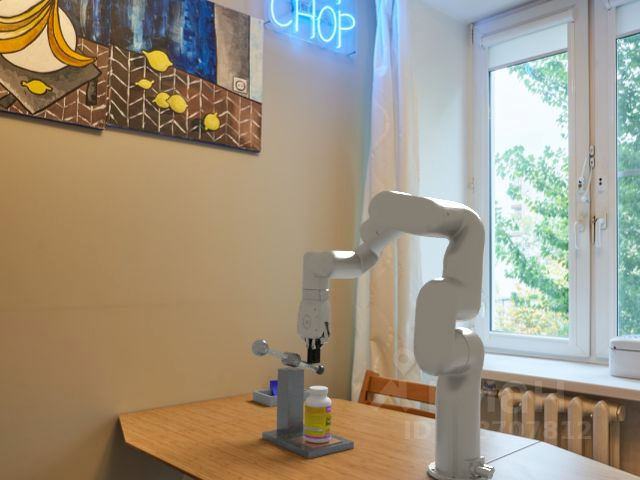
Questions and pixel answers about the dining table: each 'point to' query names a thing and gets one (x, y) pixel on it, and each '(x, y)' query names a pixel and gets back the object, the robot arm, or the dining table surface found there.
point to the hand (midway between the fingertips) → (313, 362)
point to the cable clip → (274, 387)
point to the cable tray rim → (271, 397)
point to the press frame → (298, 419)
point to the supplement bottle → (318, 415)
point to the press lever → (284, 356)
